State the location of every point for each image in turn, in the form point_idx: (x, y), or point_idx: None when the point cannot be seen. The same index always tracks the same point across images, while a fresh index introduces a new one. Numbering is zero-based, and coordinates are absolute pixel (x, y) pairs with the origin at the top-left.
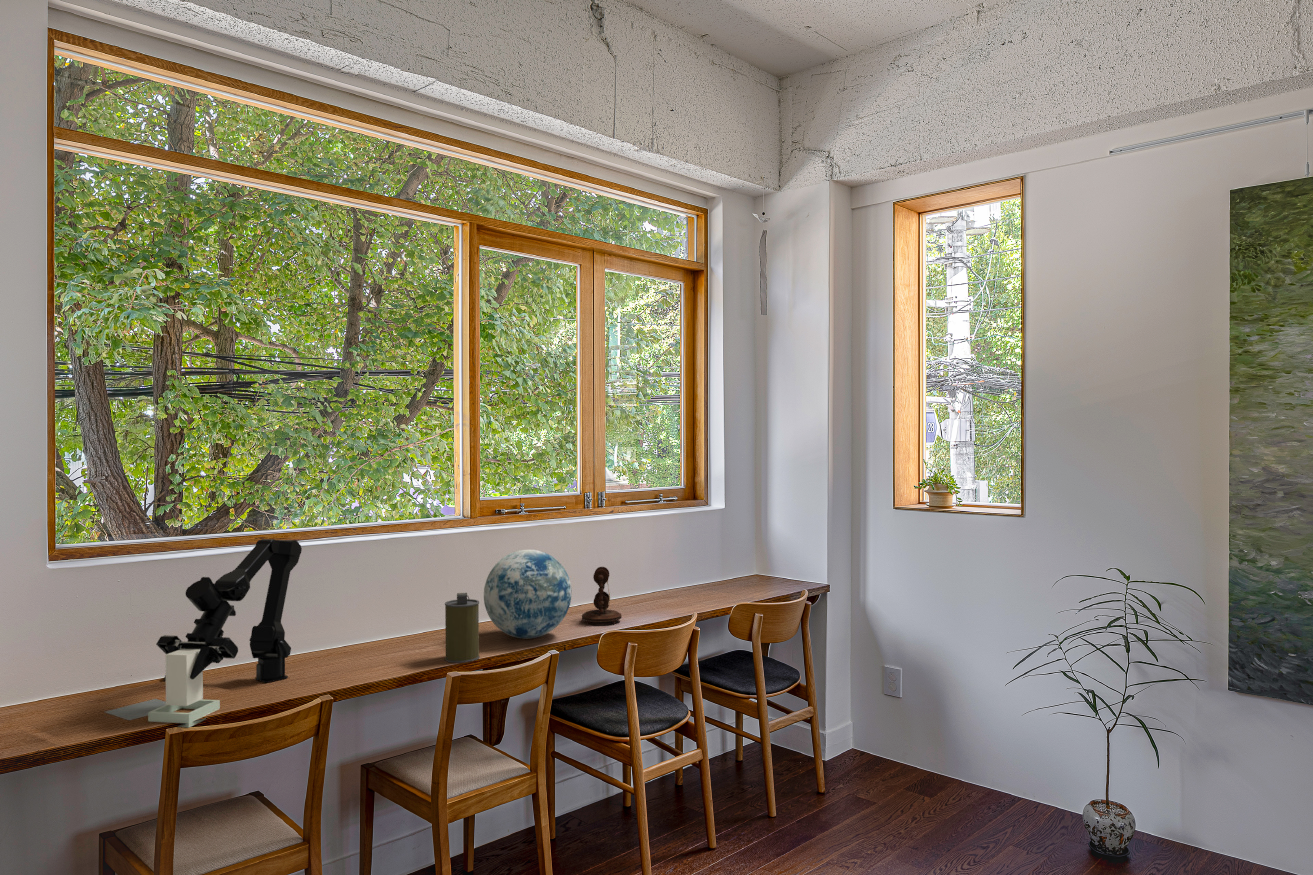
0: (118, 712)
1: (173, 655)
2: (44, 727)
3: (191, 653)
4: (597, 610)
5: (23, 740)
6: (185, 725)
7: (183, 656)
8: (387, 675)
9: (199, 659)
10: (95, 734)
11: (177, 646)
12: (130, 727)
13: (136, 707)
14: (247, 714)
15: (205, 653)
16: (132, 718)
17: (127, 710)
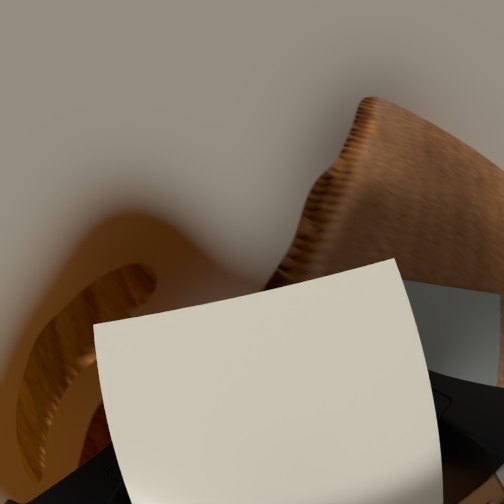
0: (474, 309)
1: (283, 291)
2: (498, 200)
3: (110, 418)
4: None
5: (450, 144)
6: None
7: (138, 321)
8: None
9: (112, 451)
10: (381, 199)
11: (499, 485)
12: (358, 266)
13: (473, 359)
14: None
15: (60, 485)
16: None
17: (470, 331)
